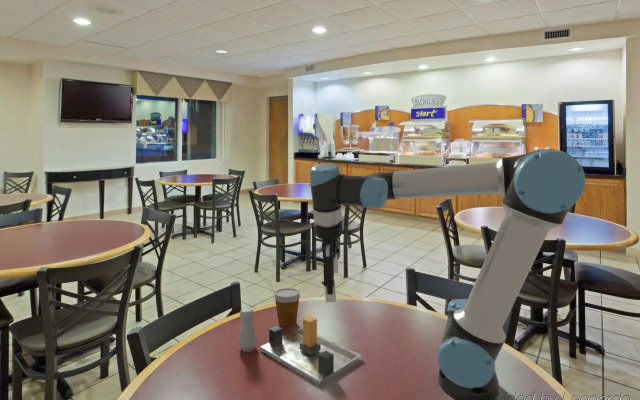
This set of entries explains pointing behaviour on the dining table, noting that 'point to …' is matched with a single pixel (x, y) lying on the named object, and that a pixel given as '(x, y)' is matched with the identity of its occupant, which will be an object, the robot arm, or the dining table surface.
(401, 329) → the dining table surface
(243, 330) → the salt shaker
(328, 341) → the tray
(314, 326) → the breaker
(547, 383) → the dining table surface
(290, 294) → the disposable coffee cup
